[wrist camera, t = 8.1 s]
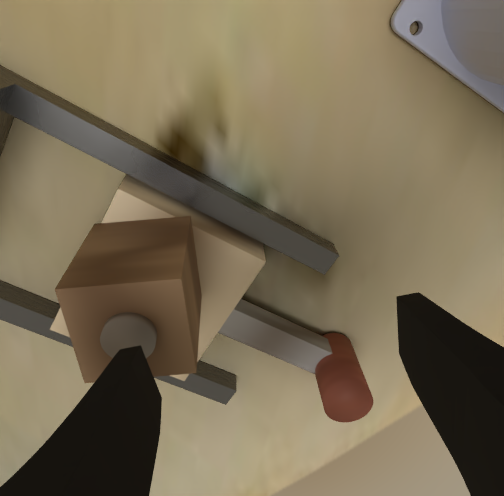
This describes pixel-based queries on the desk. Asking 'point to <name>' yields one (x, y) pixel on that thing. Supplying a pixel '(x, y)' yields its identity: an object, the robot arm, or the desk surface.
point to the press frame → (161, 178)
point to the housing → (134, 296)
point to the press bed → (242, 312)
